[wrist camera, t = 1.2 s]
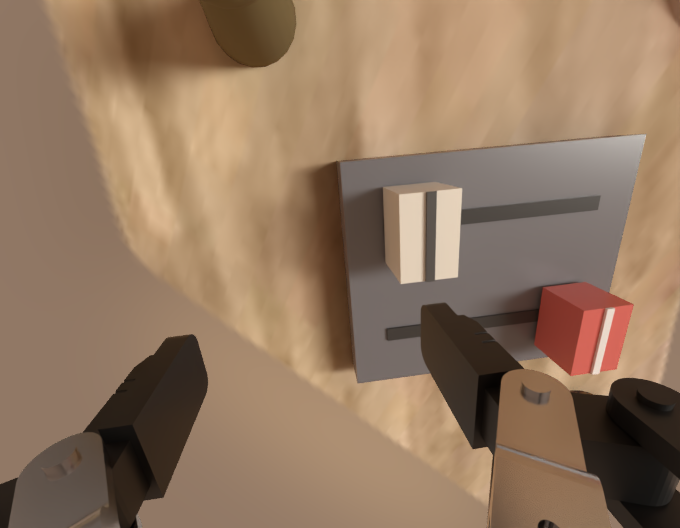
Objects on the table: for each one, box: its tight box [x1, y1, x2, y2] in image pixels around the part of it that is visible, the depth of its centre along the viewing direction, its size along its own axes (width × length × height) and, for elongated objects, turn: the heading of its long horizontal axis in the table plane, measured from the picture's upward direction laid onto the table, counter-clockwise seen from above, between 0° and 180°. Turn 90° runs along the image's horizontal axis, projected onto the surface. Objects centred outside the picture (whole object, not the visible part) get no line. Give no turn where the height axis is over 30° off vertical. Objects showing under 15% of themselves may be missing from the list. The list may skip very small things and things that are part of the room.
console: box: [336, 134, 646, 383], centre depth 28 cm, size 20×24×3 cm
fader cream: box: [383, 182, 462, 284], centre depth 22 cm, size 6×4×5 cm, turn 5°
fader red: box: [534, 282, 634, 376], centre depth 27 cm, size 6×4×5 cm, turn 5°
